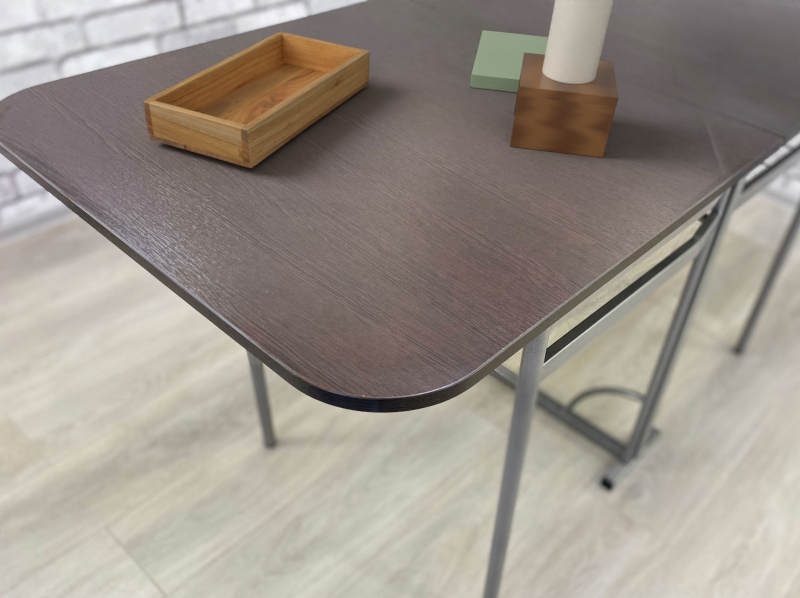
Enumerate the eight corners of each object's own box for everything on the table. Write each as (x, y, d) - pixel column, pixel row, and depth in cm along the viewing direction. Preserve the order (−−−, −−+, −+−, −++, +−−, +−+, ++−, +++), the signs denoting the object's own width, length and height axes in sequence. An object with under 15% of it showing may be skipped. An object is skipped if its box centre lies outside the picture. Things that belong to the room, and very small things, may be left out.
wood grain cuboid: (599, 119, 101) (613, 61, 96) (602, 157, 92) (618, 97, 87) (514, 109, 103) (523, 52, 97) (509, 146, 94) (519, 86, 88)
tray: (281, 66, 110) (279, 27, 107) (369, 87, 106) (370, 47, 102) (149, 145, 90) (141, 100, 86) (251, 175, 85) (247, 130, 81)
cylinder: (594, 66, 94) (626, -71, 84) (596, 86, 89) (630, -57, 79) (542, 61, 95) (568, -77, 84) (541, 80, 90) (568, -63, 79)
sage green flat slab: (575, 52, 121) (578, 40, 119) (577, 99, 106) (580, 86, 105) (481, 42, 122) (482, 30, 121) (469, 87, 108) (471, 74, 106)
